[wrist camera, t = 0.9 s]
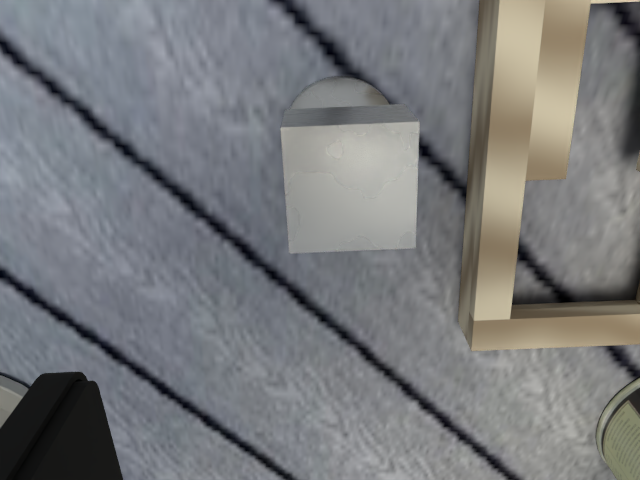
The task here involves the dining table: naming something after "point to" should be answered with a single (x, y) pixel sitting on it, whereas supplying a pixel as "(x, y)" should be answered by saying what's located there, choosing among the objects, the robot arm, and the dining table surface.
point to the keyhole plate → (525, 174)
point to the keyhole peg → (349, 169)
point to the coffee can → (621, 433)
